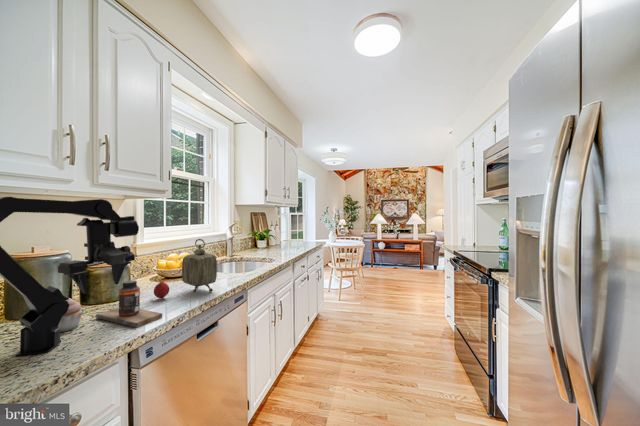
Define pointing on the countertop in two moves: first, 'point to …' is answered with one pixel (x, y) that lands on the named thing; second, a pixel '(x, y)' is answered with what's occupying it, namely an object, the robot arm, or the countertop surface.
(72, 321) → the cupcake
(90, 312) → the countertop surface
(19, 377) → the countertop surface
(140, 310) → the brown wooden board
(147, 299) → the countertop surface
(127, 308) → the supplement bottle
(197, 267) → the tabletop clock
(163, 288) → the onion
